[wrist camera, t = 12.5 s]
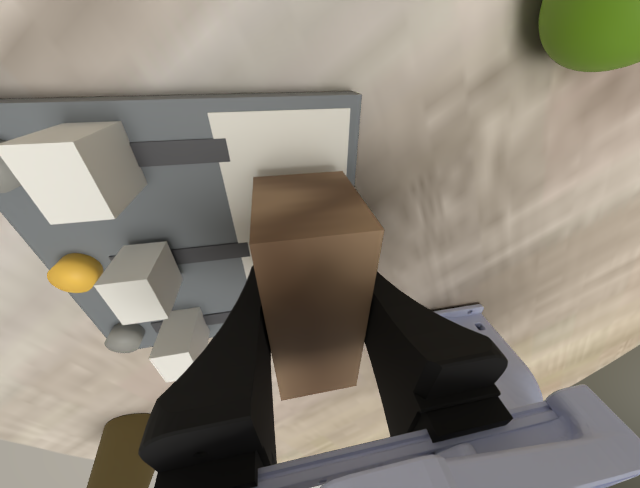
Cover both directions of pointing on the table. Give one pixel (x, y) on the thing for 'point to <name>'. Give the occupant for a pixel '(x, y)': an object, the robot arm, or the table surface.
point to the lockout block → (314, 277)
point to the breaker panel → (161, 193)
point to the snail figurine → (591, 33)
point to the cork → (121, 455)
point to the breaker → (141, 283)
